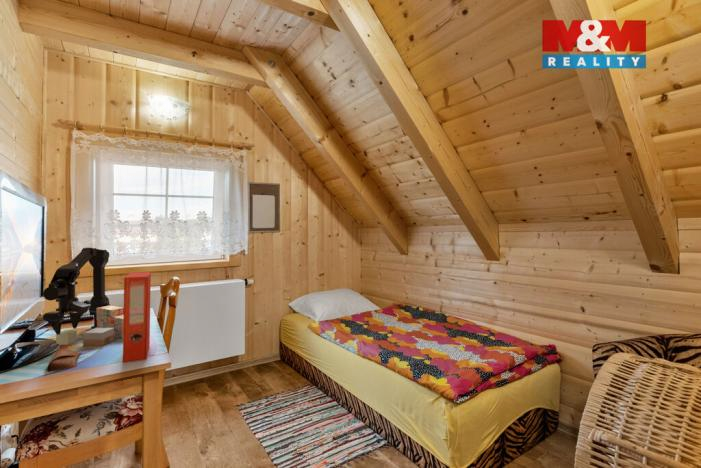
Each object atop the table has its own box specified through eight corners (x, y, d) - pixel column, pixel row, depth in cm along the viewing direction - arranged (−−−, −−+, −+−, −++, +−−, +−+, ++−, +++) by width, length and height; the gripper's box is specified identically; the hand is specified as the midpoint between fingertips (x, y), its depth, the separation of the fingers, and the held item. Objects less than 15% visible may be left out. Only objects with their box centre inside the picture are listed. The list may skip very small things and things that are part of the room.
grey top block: (96, 334, 158) (96, 327, 158) (114, 334, 158) (114, 327, 158) (83, 339, 150) (83, 332, 150) (102, 339, 150) (102, 332, 150)
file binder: (150, 346, 150) (150, 271, 150) (147, 359, 135) (147, 276, 134) (128, 348, 146) (128, 272, 146) (122, 362, 131) (123, 277, 131)
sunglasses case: (78, 366, 126) (65, 352, 124) (56, 380, 123) (43, 366, 121) (82, 352, 141) (71, 339, 139) (63, 364, 138) (51, 351, 136)
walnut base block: (96, 341, 157) (96, 334, 157) (114, 341, 158) (114, 334, 158) (83, 347, 149) (83, 340, 149) (102, 346, 150) (102, 339, 150)
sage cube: (65, 341, 156) (65, 330, 156) (76, 341, 156) (76, 330, 156) (56, 344, 151) (56, 333, 151) (68, 344, 151) (68, 333, 151)
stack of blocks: (135, 335, 165) (135, 309, 165) (121, 339, 160) (121, 312, 160) (110, 329, 175) (110, 304, 175) (96, 332, 170) (96, 307, 170)
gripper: (69, 300, 144) (69, 337, 144) (100, 292, 163) (100, 325, 163) (41, 300, 144) (41, 337, 144) (75, 292, 162) (75, 325, 163)
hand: (66, 331), depth 153 cm, fingers open, 9 cm apart
